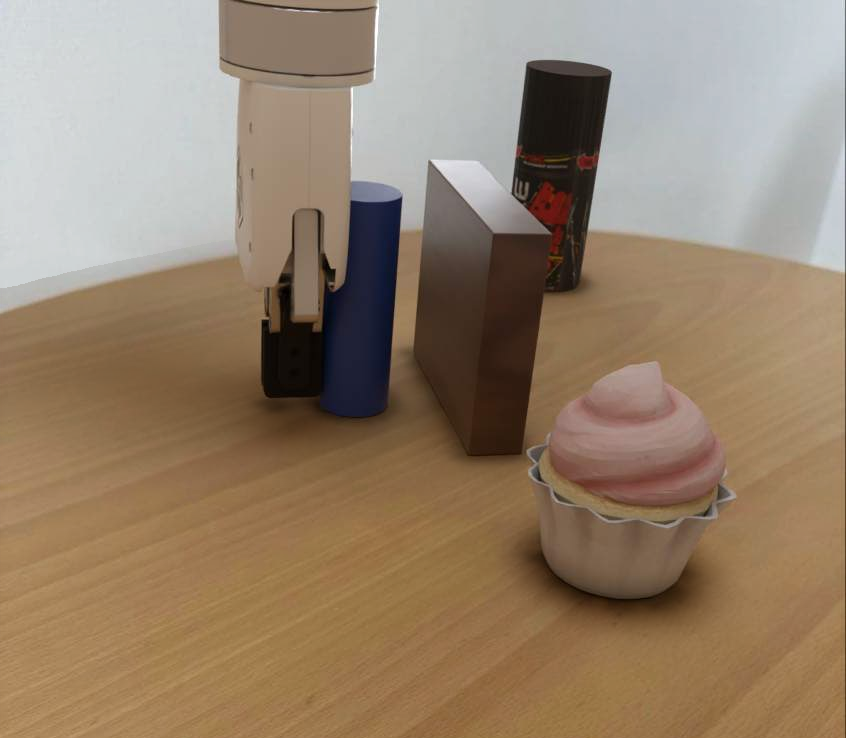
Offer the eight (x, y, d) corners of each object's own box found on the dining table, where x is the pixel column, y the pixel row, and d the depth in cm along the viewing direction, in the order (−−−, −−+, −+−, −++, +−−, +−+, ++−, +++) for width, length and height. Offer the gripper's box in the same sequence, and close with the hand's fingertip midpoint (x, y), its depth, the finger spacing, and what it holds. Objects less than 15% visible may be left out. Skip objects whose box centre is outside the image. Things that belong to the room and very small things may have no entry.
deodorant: (594, 280, 88) (627, 71, 80) (551, 297, 84) (581, 79, 76) (530, 260, 91) (557, 57, 83) (486, 275, 87) (509, 63, 79)
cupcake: (748, 616, 50) (806, 408, 45) (544, 628, 48) (580, 412, 43) (667, 509, 58) (709, 321, 53) (489, 515, 56) (514, 320, 51)
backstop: (468, 455, 61) (493, 233, 55) (412, 352, 73) (428, 159, 67) (522, 453, 62) (552, 234, 56) (458, 352, 74) (478, 160, 67)
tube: (350, 448, 65) (213, 295, 59) (340, 417, 69) (209, 269, 62) (504, 333, 63) (380, 163, 57) (485, 307, 67) (366, 143, 60)
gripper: (209, 13, 61) (214, 341, 70) (231, 66, 48) (234, 455, 58) (350, 21, 62) (336, 340, 72) (406, 74, 50) (381, 451, 60)
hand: (290, 391), depth 65 cm, fingers closed
